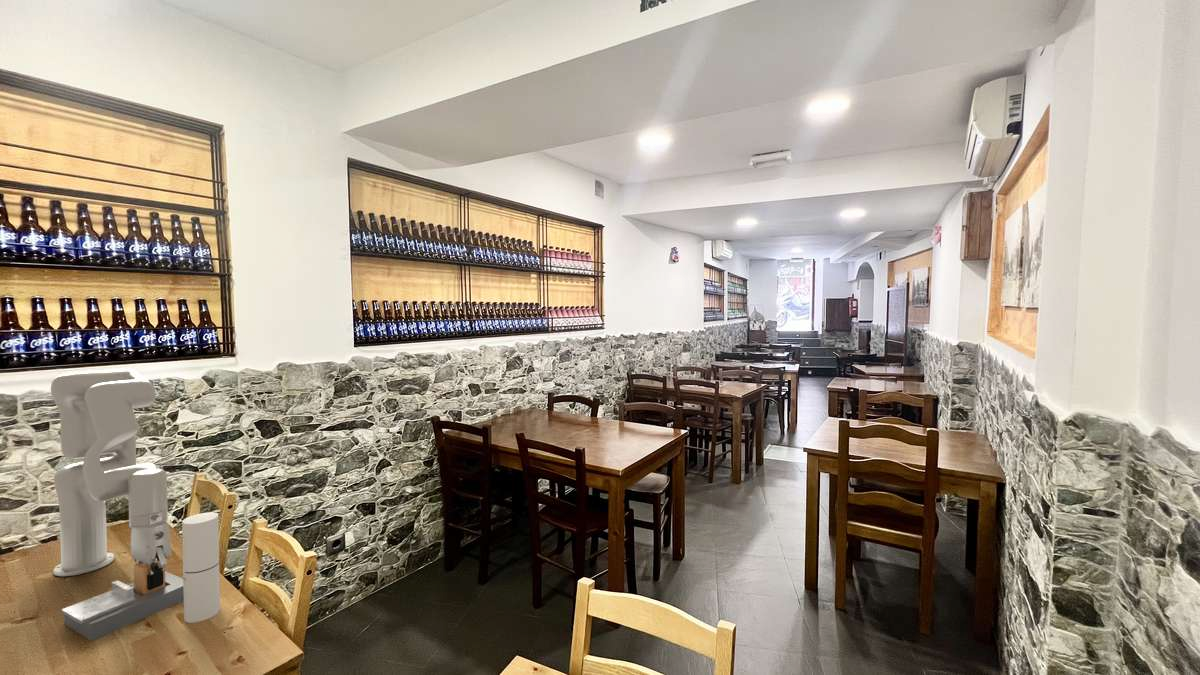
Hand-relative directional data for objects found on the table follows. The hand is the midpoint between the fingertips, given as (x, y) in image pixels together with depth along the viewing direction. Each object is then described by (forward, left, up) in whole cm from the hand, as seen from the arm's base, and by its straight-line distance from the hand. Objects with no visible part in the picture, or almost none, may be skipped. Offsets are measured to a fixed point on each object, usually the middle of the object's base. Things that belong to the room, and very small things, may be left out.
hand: (150, 584), depth 130 cm
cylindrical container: (+18, +3, -5) cm, 19 cm away
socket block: (0, -4, -5) cm, 6 cm away
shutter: (0, -10, -1) cm, 10 cm away
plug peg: (0, 0, -2) cm, 2 cm away
